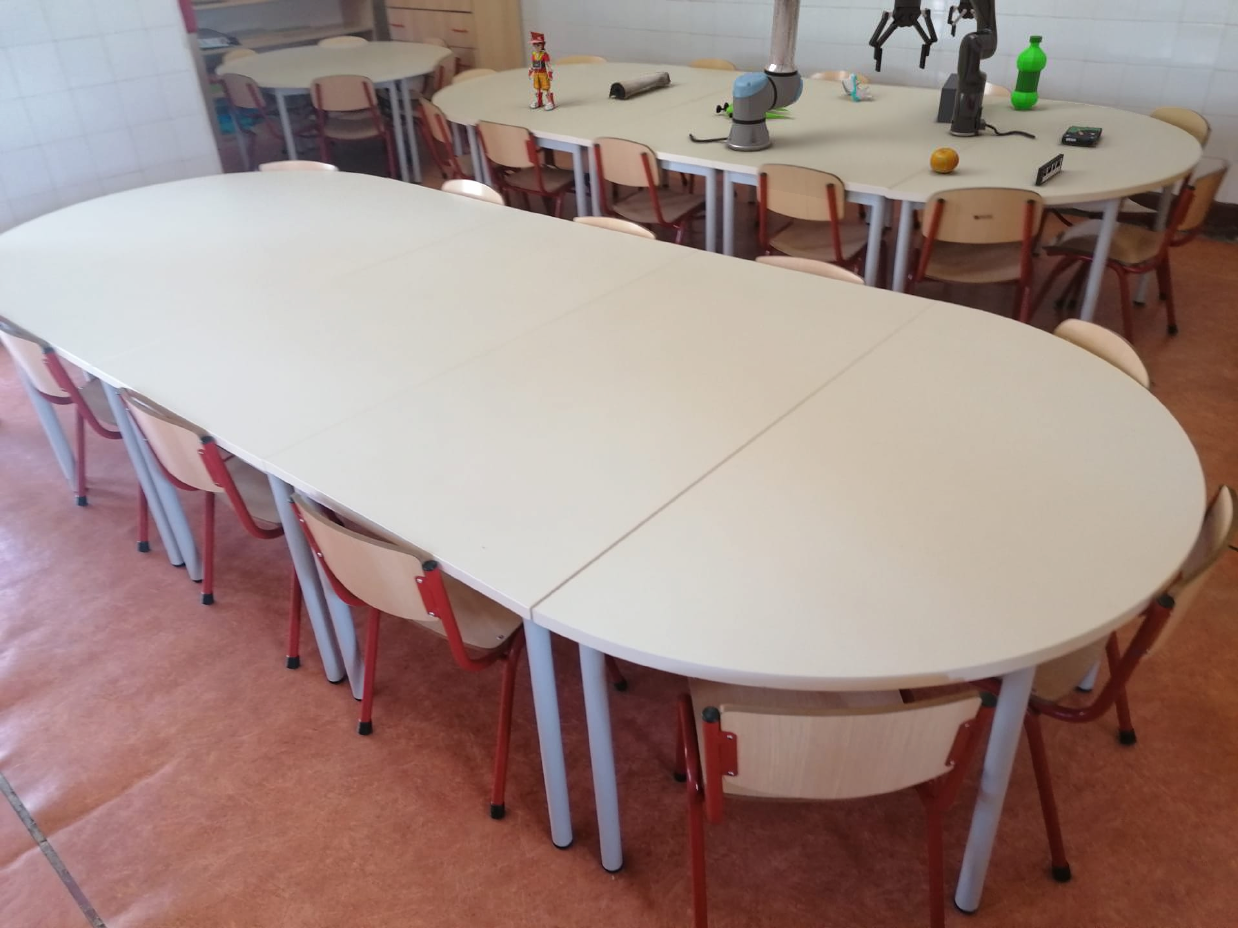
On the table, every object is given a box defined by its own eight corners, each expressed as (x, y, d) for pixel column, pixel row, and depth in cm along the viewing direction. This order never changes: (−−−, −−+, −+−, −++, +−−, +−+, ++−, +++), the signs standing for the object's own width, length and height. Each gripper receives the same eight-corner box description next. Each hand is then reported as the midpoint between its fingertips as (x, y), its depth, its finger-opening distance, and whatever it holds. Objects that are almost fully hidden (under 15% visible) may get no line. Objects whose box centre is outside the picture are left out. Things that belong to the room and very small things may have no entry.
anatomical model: (837, 72, 370) (861, 66, 369) (839, 98, 376) (863, 91, 375) (847, 80, 358) (872, 73, 357) (850, 107, 364) (874, 100, 363)
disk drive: (1093, 148, 297) (1100, 136, 307) (1095, 139, 295) (1103, 127, 305) (1060, 144, 302) (1068, 133, 312) (1062, 136, 300) (1070, 124, 310)
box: (946, 106, 351) (951, 73, 344) (962, 106, 349) (967, 74, 342) (936, 122, 332) (941, 88, 326) (953, 123, 330) (958, 89, 324)
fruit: (924, 163, 281) (941, 140, 278) (925, 165, 289) (941, 143, 286) (946, 178, 280) (963, 155, 277) (947, 180, 288) (963, 158, 285)
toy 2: (706, 117, 350) (777, 129, 338) (708, 103, 348) (779, 115, 335) (737, 106, 371) (804, 117, 358) (738, 93, 368) (807, 104, 355)
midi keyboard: (1039, 185, 269) (1043, 168, 266) (1035, 184, 270) (1038, 168, 267) (1060, 170, 279) (1064, 154, 277) (1056, 169, 280) (1060, 153, 277)
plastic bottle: (1042, 108, 341) (1057, 36, 326) (1025, 113, 336) (1039, 40, 322) (1019, 103, 348) (1033, 33, 333) (1002, 108, 343) (1015, 37, 329)
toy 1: (525, 109, 381) (517, 32, 364) (534, 104, 388) (527, 28, 371) (550, 110, 377) (543, 32, 360) (559, 105, 384) (553, 28, 367)
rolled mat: (651, 76, 408) (662, 61, 399) (662, 93, 408) (674, 79, 400) (605, 92, 391) (616, 77, 383) (617, 110, 391) (628, 95, 383)
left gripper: (870, -4, 258) (862, 75, 270) (956, -10, 258) (944, 69, 270) (863, -7, 264) (855, 70, 276) (946, -13, 264) (935, 64, 277)
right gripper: (950, -11, 324) (944, 38, 333) (992, -11, 319) (984, 39, 328) (953, -13, 330) (947, 35, 339) (994, -14, 324) (987, 35, 333)
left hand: (899, 70), depth 273 cm, fingers open, 13 cm apart
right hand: (965, 37), depth 333 cm, fingers open, 8 cm apart
